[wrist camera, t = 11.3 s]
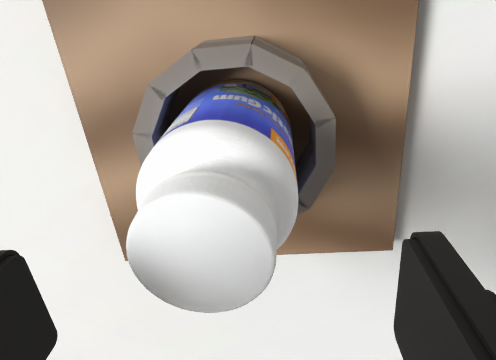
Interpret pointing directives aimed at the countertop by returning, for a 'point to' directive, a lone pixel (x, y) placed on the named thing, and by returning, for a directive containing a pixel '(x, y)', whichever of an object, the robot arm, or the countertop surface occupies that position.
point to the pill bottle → (215, 200)
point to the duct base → (259, 72)
